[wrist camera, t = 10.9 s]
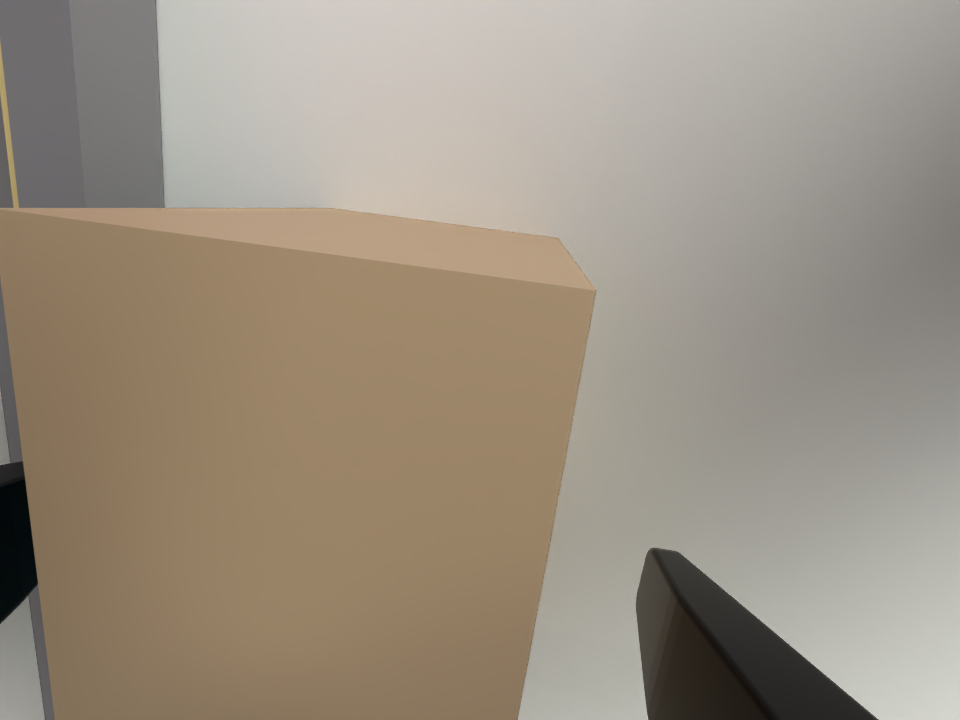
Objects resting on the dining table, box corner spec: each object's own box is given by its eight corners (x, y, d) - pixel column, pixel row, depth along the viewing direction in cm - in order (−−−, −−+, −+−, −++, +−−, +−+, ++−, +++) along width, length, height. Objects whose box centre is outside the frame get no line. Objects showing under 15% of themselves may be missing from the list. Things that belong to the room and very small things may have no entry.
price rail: (-54, -233, 9) (-208, -348, 7) (146, -218, 9) (42, -332, 7) (65, 744, 15) (-1, 821, 13) (187, 768, 15) (137, 849, 13)
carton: (557, 237, 10) (595, 290, 4) (496, 621, 13) (454, 1061, 6) (316, 205, 11) (-46, 202, 4) (301, 586, 13) (62, 972, 7)
